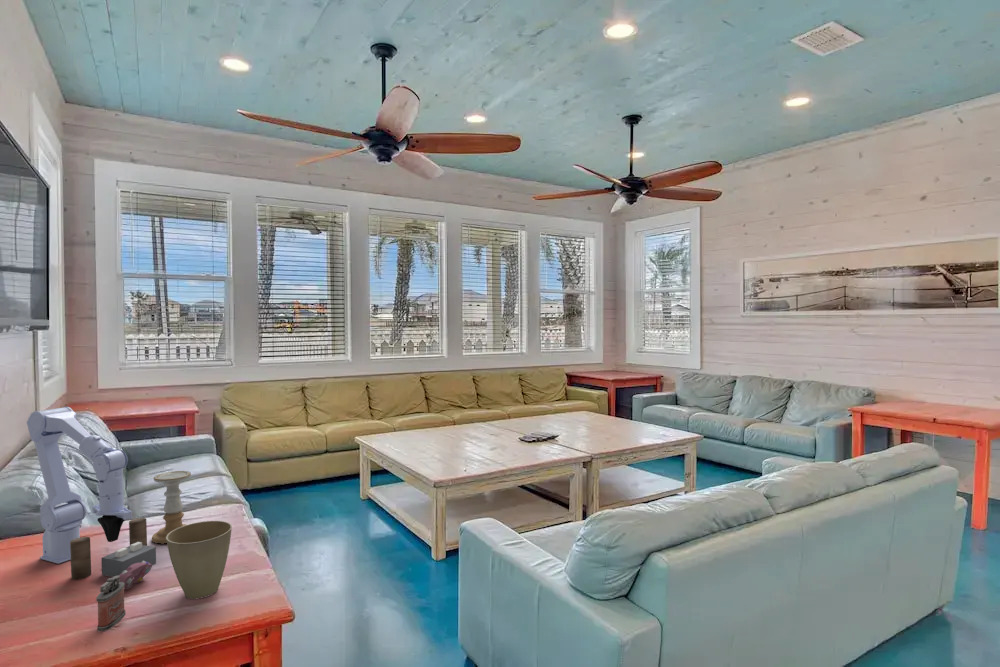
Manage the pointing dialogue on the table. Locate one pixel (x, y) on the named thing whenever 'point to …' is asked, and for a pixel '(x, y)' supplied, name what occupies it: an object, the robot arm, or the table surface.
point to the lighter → (110, 603)
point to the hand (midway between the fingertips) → (112, 540)
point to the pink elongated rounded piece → (135, 573)
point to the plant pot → (199, 556)
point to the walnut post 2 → (138, 531)
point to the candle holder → (171, 503)
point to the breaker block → (127, 558)
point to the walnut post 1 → (80, 558)
